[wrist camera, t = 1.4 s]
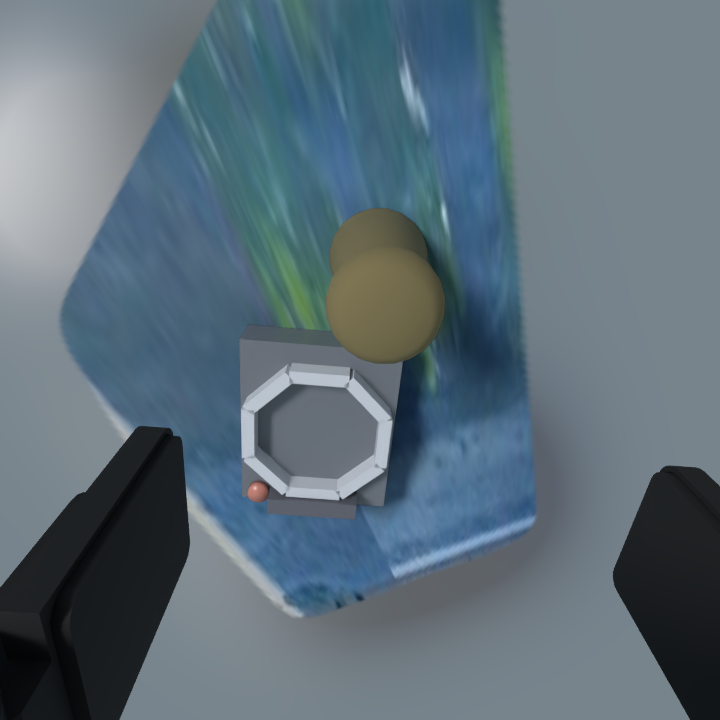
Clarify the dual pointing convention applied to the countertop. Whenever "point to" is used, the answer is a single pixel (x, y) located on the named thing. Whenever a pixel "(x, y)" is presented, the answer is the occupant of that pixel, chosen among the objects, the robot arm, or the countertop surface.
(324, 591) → the countertop surface
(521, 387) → the countertop surface
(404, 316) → the cork
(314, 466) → the octagon ring plate
